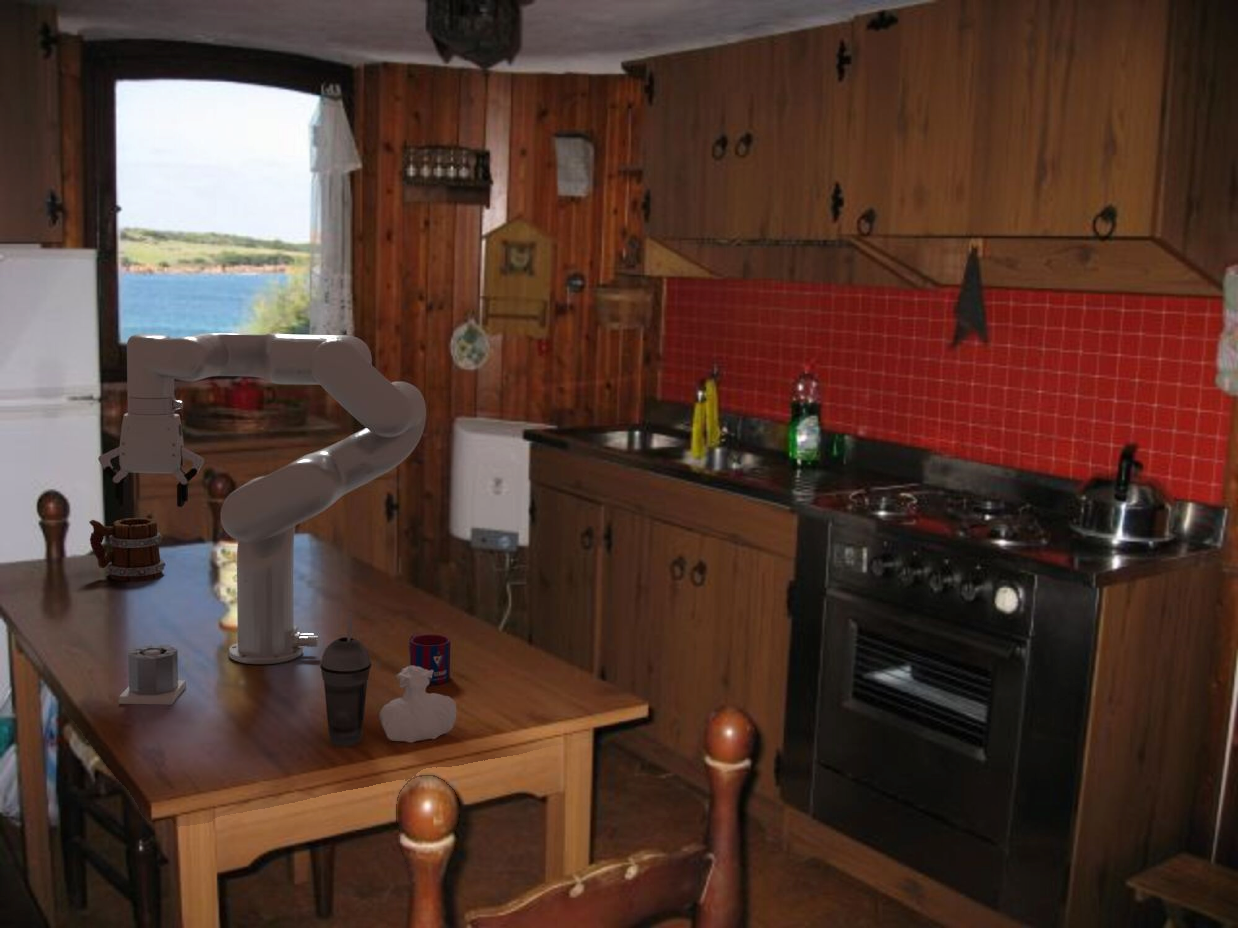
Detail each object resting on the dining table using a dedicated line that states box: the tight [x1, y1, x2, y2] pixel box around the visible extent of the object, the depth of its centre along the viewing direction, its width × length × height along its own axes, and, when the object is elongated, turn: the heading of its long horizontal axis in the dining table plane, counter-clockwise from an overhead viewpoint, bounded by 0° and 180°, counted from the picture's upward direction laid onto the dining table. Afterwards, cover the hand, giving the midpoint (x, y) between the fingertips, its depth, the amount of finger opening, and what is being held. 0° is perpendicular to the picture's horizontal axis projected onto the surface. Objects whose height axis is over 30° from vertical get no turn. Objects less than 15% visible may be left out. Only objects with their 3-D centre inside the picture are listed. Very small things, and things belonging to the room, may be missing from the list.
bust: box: [378, 664, 457, 744], centre depth 192 cm, size 12×8×11 cm
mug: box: [88, 517, 166, 582], centre depth 275 cm, size 12×14×15 cm
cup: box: [408, 633, 451, 686], centre depth 218 cm, size 7×10×7 cm
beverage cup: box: [319, 609, 372, 748], centre depth 187 cm, size 7×7×20 cm
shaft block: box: [118, 650, 187, 706], centre depth 204 cm, size 8×8×7 cm
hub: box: [127, 644, 179, 695], centre depth 204 cm, size 7×7×6 cm
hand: (152, 504), depth 223 cm, fingers open, 9 cm apart
